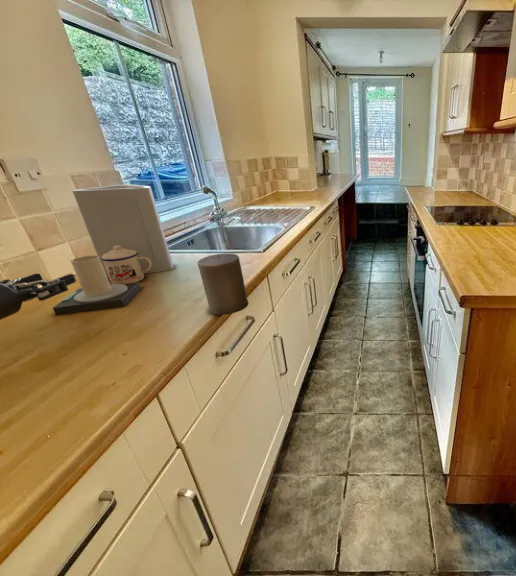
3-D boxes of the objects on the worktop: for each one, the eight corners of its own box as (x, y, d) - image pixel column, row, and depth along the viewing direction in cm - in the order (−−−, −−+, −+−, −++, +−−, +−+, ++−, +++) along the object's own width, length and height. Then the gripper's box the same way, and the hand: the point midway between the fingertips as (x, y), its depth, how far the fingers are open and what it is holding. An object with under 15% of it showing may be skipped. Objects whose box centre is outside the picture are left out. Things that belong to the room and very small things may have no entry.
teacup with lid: (107, 288, 98) (93, 251, 93) (115, 278, 106) (102, 244, 101) (153, 281, 103) (142, 246, 98) (157, 272, 110) (147, 239, 105)
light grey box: (177, 257, 125) (156, 183, 114) (172, 269, 113) (148, 187, 101) (117, 264, 118) (88, 186, 106) (105, 278, 105) (71, 191, 94)
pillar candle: (256, 302, 89) (246, 250, 83) (229, 318, 80) (216, 262, 74) (229, 296, 92) (218, 246, 86) (200, 311, 84) (186, 257, 78)
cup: (80, 297, 86) (65, 263, 82) (91, 289, 91) (77, 256, 87) (106, 295, 87) (92, 260, 83) (115, 287, 92) (103, 254, 88)
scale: (55, 314, 82) (51, 306, 81) (81, 294, 94) (78, 286, 93) (123, 306, 87) (120, 298, 86) (140, 288, 98) (138, 280, 97)
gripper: (2, 291, 62) (78, 263, 76) (-68, 290, 62) (21, 262, 77) (20, 324, 65) (90, 291, 79) (-47, 323, 65) (35, 290, 80)
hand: (56, 277), depth 78 cm, fingers open, 8 cm apart
